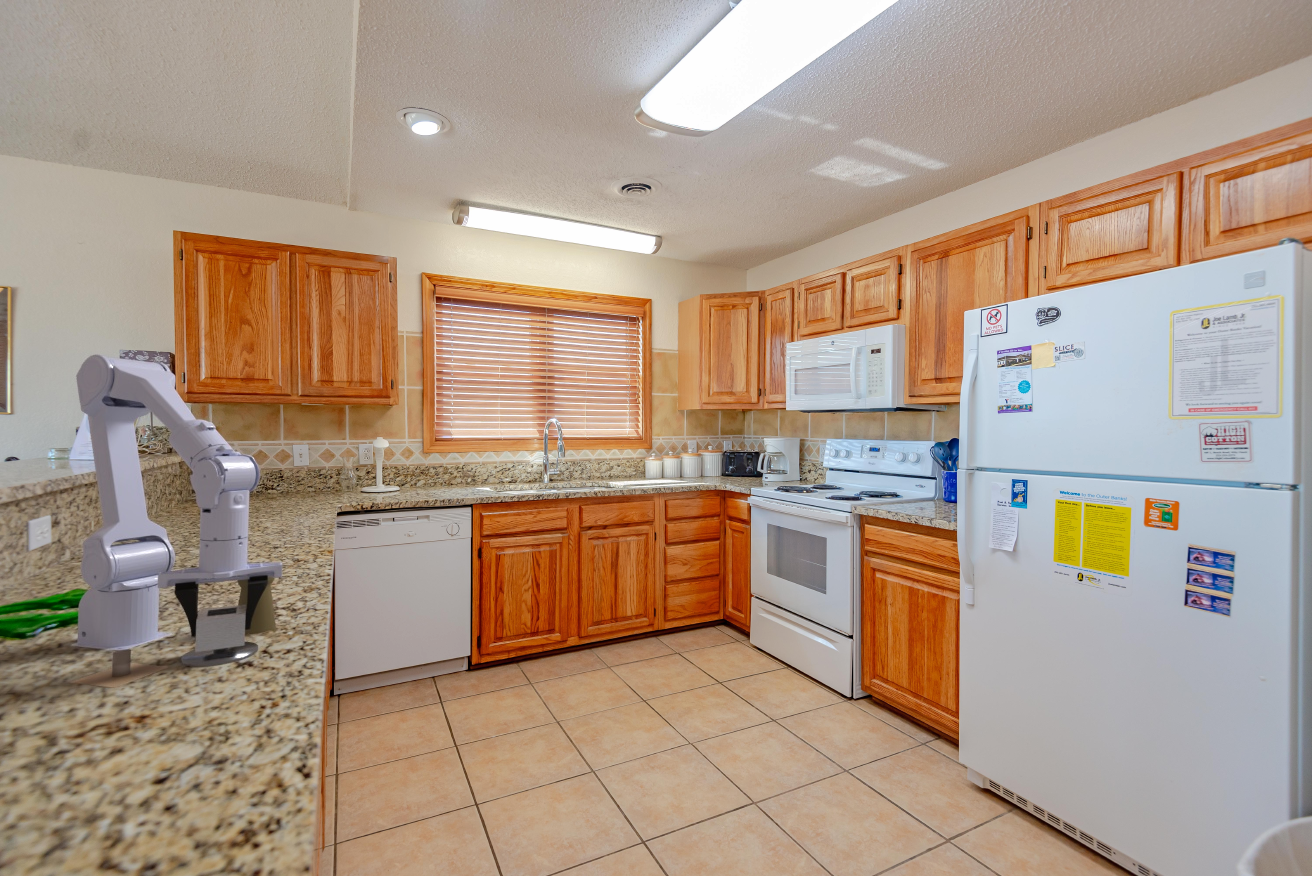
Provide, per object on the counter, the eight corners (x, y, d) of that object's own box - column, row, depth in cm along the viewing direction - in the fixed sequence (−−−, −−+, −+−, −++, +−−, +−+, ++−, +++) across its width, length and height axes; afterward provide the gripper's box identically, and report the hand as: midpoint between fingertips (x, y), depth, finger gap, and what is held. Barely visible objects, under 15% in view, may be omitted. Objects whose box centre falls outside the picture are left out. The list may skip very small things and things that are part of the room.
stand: (69, 686, 76) (70, 658, 76) (127, 666, 83) (127, 640, 83) (114, 692, 74) (115, 663, 74) (169, 671, 81) (169, 645, 81)
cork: (254, 640, 94) (256, 571, 95) (222, 636, 96) (224, 568, 96) (285, 628, 100) (287, 563, 100) (255, 625, 102) (256, 561, 102)
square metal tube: (195, 652, 82) (196, 619, 82) (198, 640, 87) (199, 609, 87) (244, 645, 85) (245, 614, 85) (244, 634, 90) (245, 604, 90)
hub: (164, 667, 83) (165, 638, 83) (222, 645, 92) (222, 619, 92) (219, 673, 81) (220, 644, 81) (272, 650, 90) (273, 624, 90)
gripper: (156, 546, 79) (153, 648, 79) (284, 538, 87) (281, 630, 87) (162, 538, 85) (159, 633, 85) (281, 531, 93) (279, 618, 93)
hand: (221, 631), depth 86 cm, fingers closed on square metal tube, 5 cm apart
